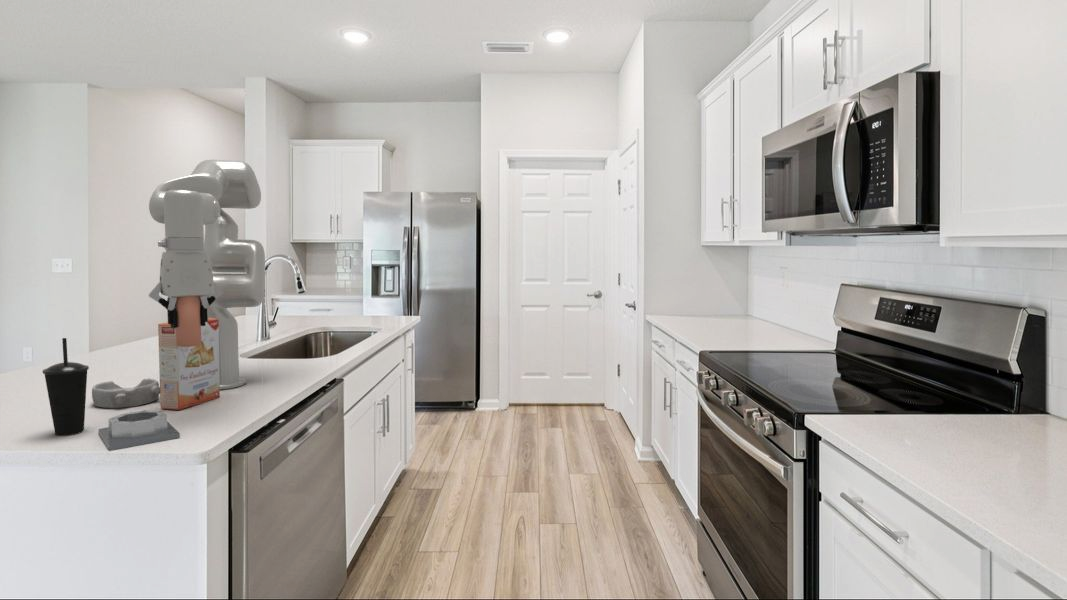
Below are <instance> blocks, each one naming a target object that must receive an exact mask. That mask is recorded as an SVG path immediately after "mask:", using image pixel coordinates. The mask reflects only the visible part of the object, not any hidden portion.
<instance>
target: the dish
mask: <svg viewBox="0 0 1067 600" xmlns="http://www.w3.org/2000/svg"><path fill="white" fill-rule="evenodd" d="M91 398H92V401H93V405H94V406H96V407H98V408H108V409H109V408H111V409H117V408H118V409H123V408H132V407H137V406H142V405H146V404H149V403H153V402H155V401H157V400H159V399H160V383H159V381H158V380H157V379H154V378H143V379H142V380H141V382H140V383H139V384H137V385H136V386H133V387H127V388H125V387H122V386H120V385H119V384H116V383H115V382H114V381H112V380H109V381H108V380H107V381H103V382H98V383H96V384H95V385H93V386H92V389H91Z"/></svg>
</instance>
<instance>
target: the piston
mask: <svg viewBox="0 0 1067 600" xmlns="http://www.w3.org/2000/svg"><path fill="white" fill-rule="evenodd" d="M175 310H176V311H177V324H178V327H177V328H176V346H178V347H191V346H199V345H201V344H202V342H201V315H200V296H188V297H177V300H176V303H175Z"/></svg>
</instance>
